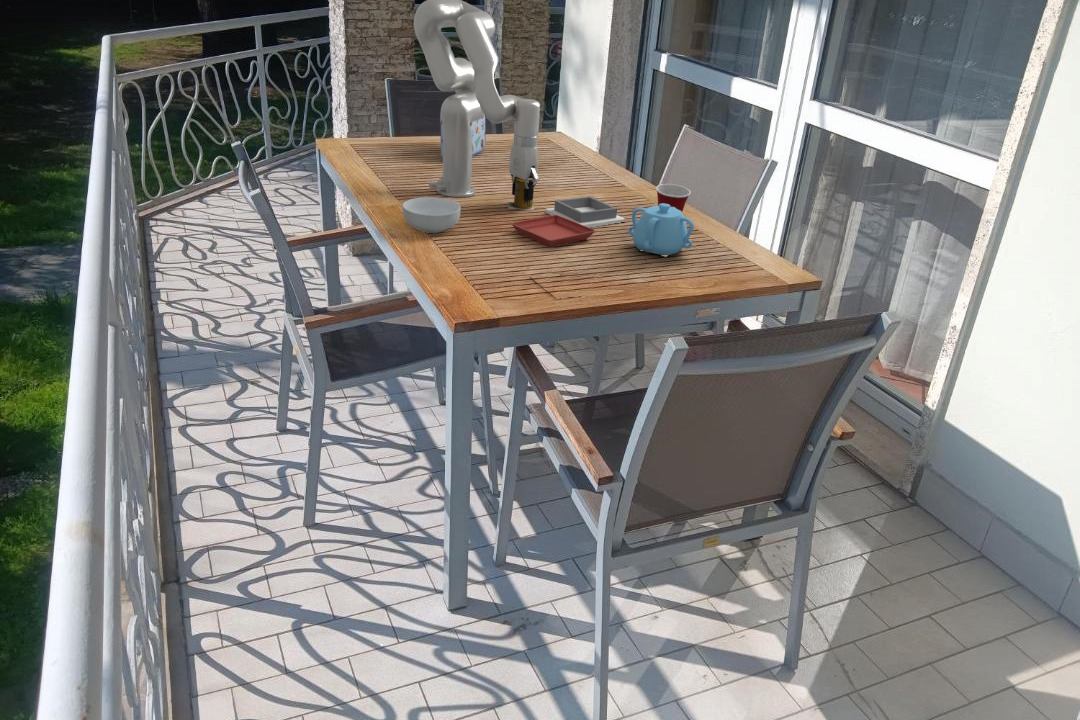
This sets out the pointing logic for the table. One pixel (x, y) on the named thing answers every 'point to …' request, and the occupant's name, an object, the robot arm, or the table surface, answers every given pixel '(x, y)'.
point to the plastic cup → (672, 195)
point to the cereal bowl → (431, 213)
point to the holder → (586, 211)
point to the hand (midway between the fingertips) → (522, 196)
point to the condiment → (520, 197)
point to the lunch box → (477, 135)
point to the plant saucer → (553, 230)
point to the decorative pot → (661, 230)
